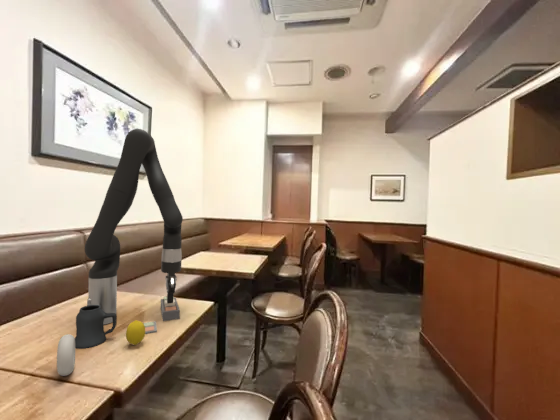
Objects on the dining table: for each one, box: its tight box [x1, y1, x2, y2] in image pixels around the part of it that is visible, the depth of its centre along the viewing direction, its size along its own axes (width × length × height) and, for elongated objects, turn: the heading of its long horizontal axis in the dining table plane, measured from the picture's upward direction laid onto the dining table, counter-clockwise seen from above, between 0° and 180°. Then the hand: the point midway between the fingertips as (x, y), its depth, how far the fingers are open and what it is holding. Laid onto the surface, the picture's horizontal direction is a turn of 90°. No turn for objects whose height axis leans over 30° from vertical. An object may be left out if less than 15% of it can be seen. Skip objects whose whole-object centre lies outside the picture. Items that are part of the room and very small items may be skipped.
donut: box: [56, 333, 76, 377], centre depth 75 cm, size 10×3×10 cm, turn 32°
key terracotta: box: [165, 306, 177, 311], centre depth 114 cm, size 4×4×2 cm
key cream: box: [164, 299, 175, 307], centre depth 119 cm, size 4×4×2 cm
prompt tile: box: [142, 320, 158, 335], centre depth 103 cm, size 5×9×1 cm, turn 25°
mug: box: [74, 305, 118, 350], centre depth 93 cm, size 12×9×11 cm
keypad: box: [160, 297, 181, 322], centre depth 119 cm, size 6×17×4 cm, turn 25°
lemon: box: [125, 319, 146, 346], centre depth 91 cm, size 6×6×8 cm
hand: (170, 302), depth 114 cm, fingers closed
